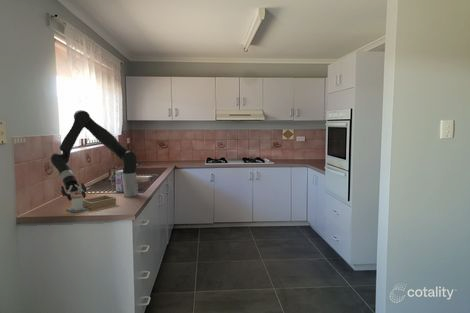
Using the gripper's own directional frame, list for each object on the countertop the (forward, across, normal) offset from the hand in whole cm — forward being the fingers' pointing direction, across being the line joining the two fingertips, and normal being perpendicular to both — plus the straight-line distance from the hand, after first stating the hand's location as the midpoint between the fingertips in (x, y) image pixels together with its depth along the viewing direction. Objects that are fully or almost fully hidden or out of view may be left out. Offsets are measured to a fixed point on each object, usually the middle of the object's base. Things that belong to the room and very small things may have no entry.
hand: (77, 198), depth 207 cm
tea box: (+4, 0, +6) cm, 7 cm away
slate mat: (+4, 0, +6) cm, 8 cm away
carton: (+4, +14, +6) cm, 16 cm away
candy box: (-17, +51, +28) cm, 61 cm away
